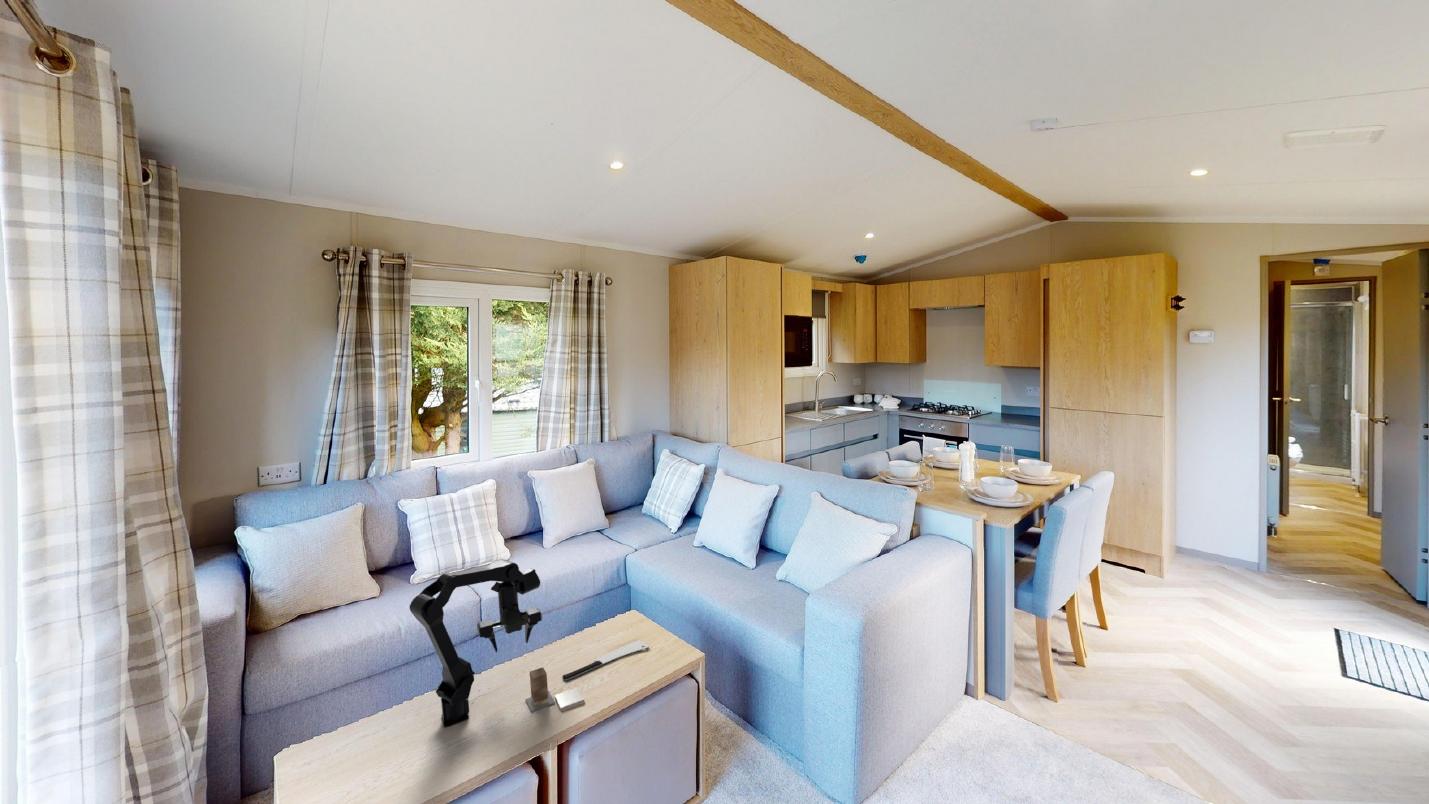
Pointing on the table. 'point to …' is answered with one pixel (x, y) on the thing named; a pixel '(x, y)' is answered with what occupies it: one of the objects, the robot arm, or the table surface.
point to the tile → (569, 699)
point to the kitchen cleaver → (607, 658)
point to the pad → (533, 708)
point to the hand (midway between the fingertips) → (511, 647)
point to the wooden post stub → (539, 686)
